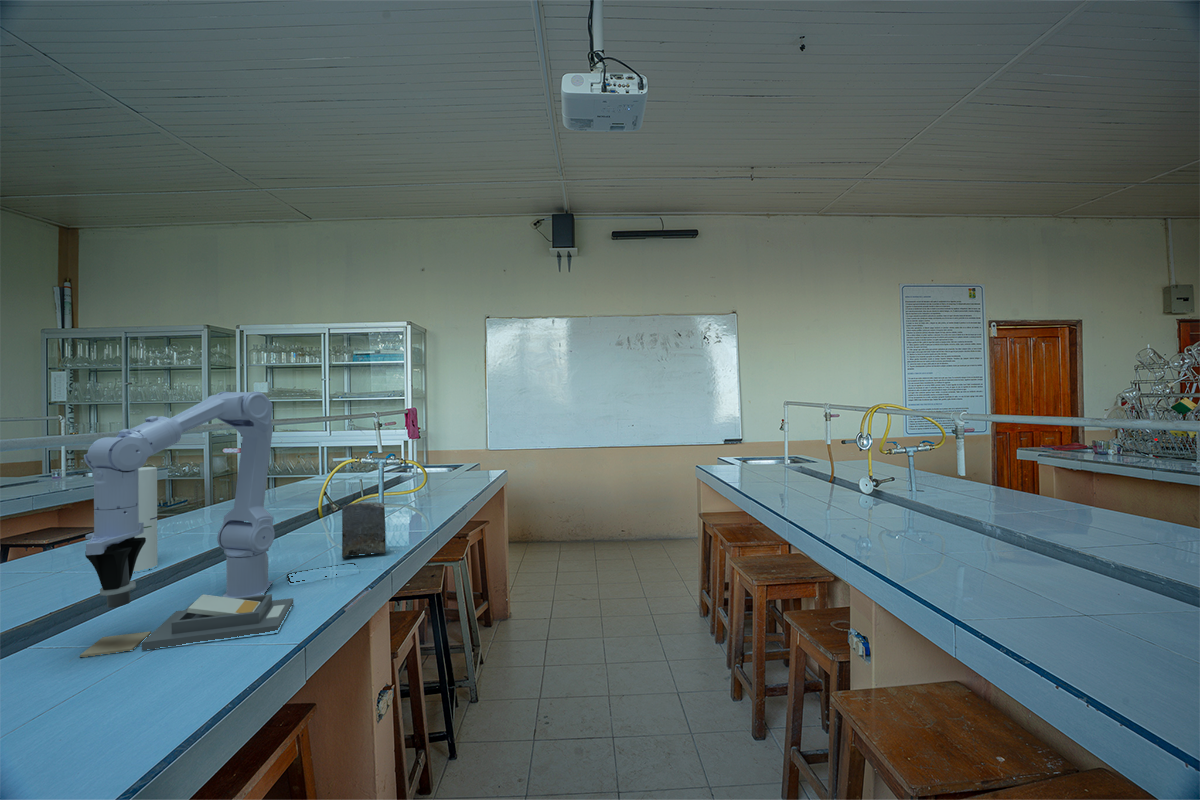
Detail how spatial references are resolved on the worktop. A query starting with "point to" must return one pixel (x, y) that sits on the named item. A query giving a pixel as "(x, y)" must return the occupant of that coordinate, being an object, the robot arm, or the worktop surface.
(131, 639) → the pad
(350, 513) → the geological specimen
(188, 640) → the switch panel
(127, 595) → the dark round-ended cylinder
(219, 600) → the rocker switch
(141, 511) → the cylindrical container
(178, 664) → the worktop surface
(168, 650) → the worktop surface
